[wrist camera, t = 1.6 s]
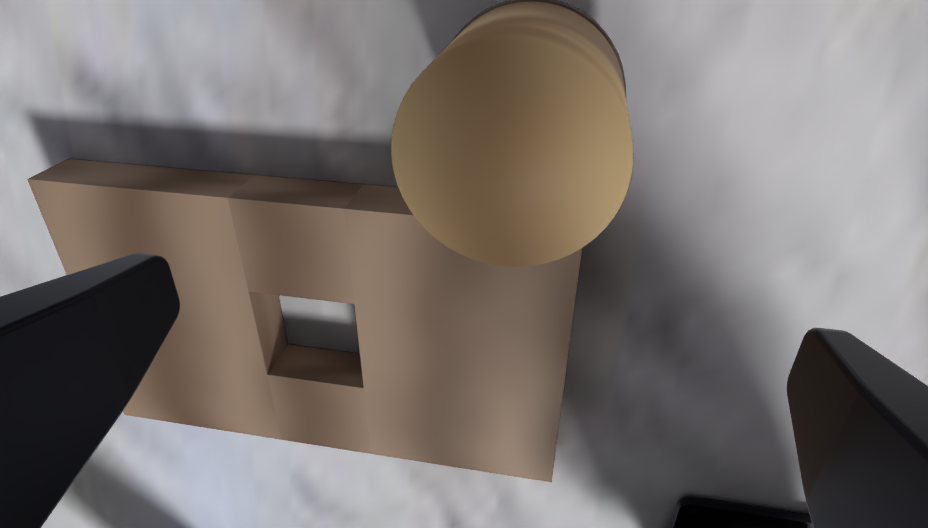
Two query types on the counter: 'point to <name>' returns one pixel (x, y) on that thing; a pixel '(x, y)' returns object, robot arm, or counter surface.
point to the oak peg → (517, 136)
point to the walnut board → (339, 280)
